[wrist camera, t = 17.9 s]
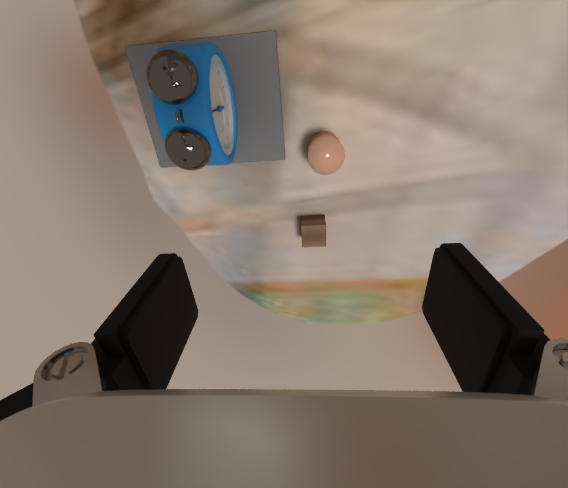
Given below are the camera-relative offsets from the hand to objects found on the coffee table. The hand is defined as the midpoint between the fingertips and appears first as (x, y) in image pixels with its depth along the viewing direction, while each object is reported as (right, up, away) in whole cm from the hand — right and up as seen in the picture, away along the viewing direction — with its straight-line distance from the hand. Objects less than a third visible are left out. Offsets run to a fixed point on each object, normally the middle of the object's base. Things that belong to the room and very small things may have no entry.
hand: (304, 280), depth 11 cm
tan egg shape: (+5, +16, +33) cm, 37 cm away
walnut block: (+4, +5, +39) cm, 40 cm away
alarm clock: (-10, +21, +30) cm, 38 cm away
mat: (-11, +21, +30) cm, 39 cm away
